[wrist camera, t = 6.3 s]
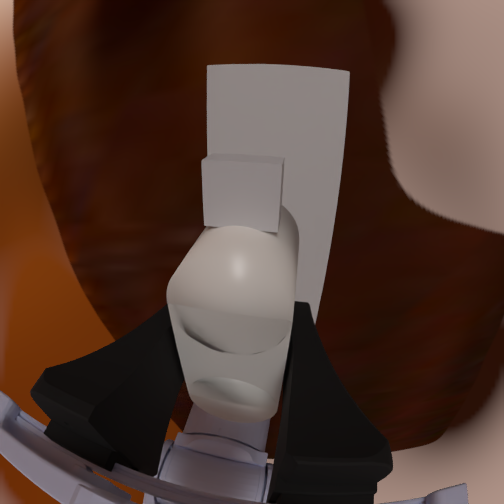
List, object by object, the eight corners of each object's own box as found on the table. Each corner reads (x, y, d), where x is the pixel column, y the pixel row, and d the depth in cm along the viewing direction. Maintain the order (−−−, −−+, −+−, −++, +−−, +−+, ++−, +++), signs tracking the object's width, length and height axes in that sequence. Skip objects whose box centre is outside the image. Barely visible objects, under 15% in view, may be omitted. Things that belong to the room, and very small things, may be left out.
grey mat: (311, 336, 24) (311, 341, 23) (218, 324, 25) (216, 328, 24) (348, 72, 14) (349, 71, 13) (210, 66, 15) (207, 65, 14)
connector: (284, 354, 15) (273, 427, 11) (218, 345, 16) (194, 413, 12) (308, 149, 10) (309, 186, 6) (208, 143, 10) (149, 177, 6)
